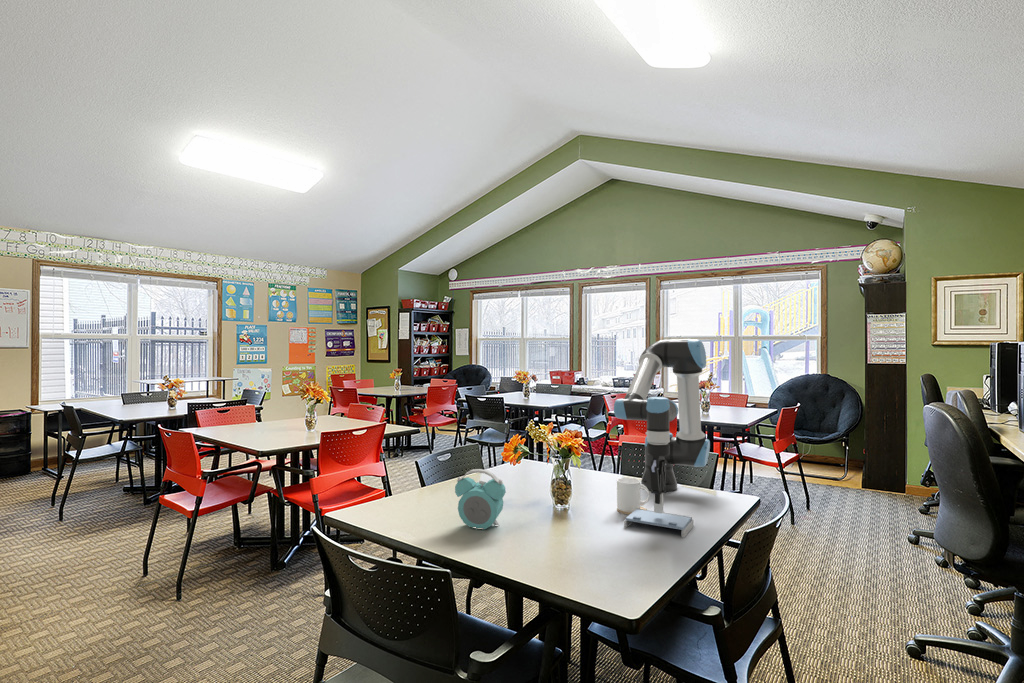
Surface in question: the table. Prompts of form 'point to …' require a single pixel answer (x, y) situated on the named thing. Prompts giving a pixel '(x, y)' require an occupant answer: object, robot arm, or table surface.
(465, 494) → the alarm clock
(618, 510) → the coaster
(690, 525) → the bracket
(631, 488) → the mug
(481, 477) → the table surface
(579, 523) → the table surface
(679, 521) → the cover
